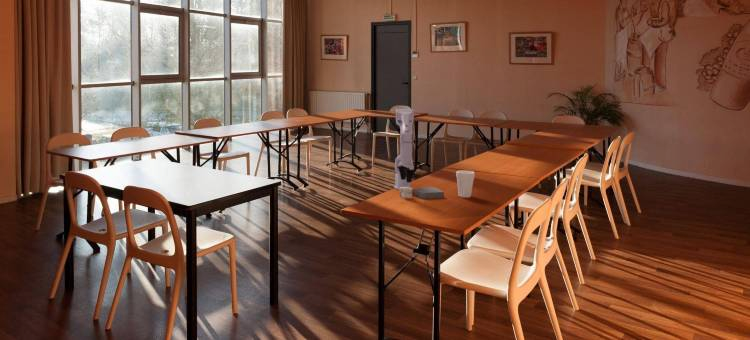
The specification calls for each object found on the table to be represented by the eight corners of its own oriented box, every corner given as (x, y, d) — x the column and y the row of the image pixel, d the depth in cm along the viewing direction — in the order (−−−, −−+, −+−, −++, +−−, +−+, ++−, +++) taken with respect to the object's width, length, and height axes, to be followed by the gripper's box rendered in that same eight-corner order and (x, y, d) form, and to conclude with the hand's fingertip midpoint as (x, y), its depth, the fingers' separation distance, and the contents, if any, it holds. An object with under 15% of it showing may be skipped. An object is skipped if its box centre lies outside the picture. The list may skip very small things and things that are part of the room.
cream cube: (399, 196, 350) (399, 187, 349) (408, 195, 351) (408, 186, 350) (403, 198, 345) (403, 189, 344) (411, 198, 347) (412, 188, 346)
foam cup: (459, 198, 346) (460, 174, 344) (452, 194, 355) (453, 170, 353) (476, 197, 349) (477, 173, 347) (469, 193, 358) (470, 170, 355)
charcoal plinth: (413, 194, 356) (413, 188, 355) (434, 192, 360) (434, 187, 359) (422, 198, 344) (423, 193, 344) (443, 197, 349) (443, 191, 348)
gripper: (394, 153, 349) (393, 178, 352) (404, 157, 336) (404, 184, 338) (406, 152, 352) (406, 177, 354) (417, 157, 338) (416, 183, 341)
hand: (406, 180), depth 346 cm, fingers open, 7 cm apart
